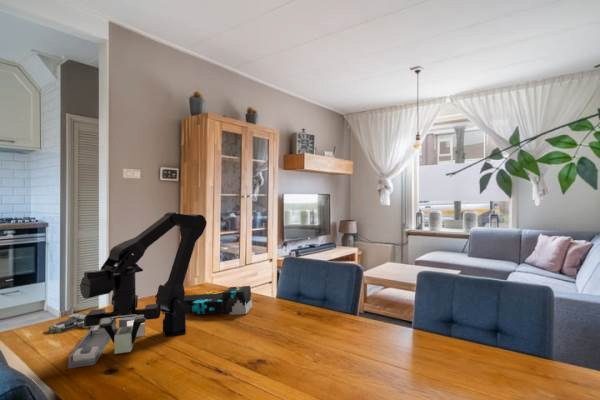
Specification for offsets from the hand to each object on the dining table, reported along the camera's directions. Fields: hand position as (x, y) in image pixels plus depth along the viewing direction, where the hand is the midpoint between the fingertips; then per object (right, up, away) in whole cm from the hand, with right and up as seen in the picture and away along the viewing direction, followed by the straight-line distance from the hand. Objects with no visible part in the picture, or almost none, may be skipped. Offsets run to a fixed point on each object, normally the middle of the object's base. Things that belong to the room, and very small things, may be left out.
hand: (124, 344), depth 94 cm
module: (0, -1, 0) cm, 1 cm away
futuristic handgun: (-24, -3, +19) cm, 30 cm away
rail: (-10, -2, +2) cm, 10 cm away
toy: (+15, -2, +35) cm, 38 cm away
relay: (-3, -2, +12) cm, 12 cm away
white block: (-7, -2, +17) cm, 18 cm away
